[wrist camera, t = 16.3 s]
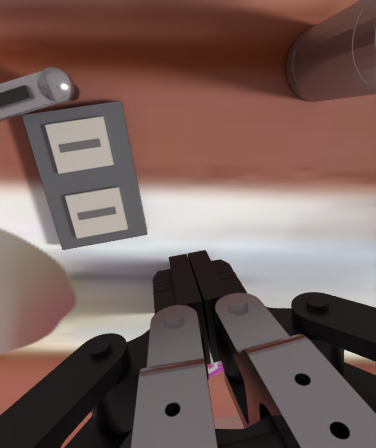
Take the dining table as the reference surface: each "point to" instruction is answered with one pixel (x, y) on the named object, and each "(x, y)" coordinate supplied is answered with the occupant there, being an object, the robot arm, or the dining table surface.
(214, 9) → the dining table surface
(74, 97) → the pivot post
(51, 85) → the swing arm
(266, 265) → the dining table surface
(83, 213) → the label panel
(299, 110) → the dining table surface
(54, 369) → the robot arm
